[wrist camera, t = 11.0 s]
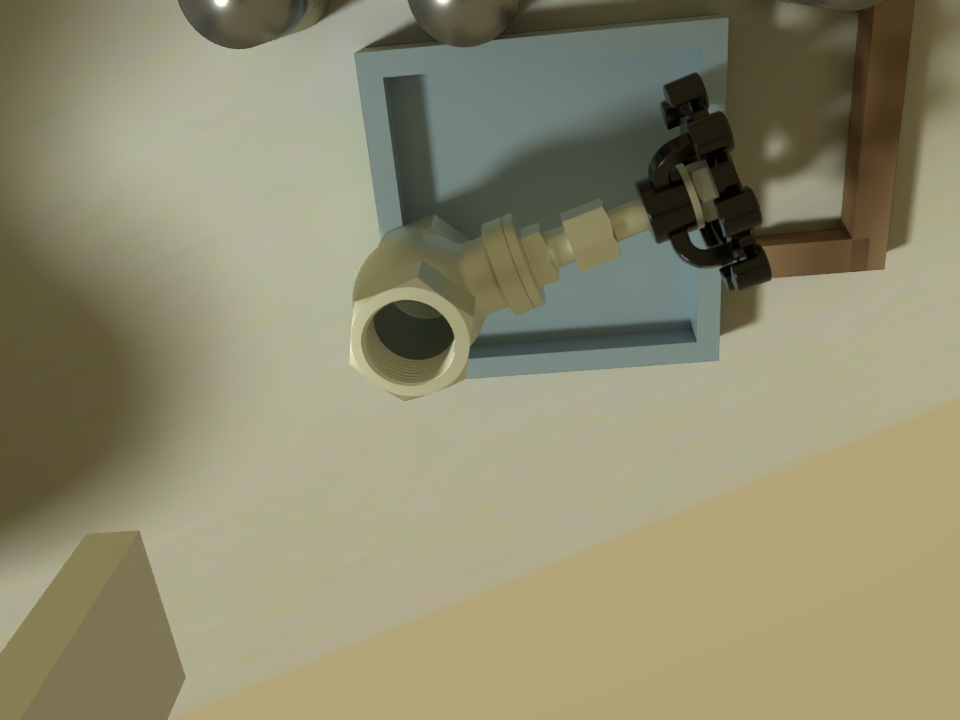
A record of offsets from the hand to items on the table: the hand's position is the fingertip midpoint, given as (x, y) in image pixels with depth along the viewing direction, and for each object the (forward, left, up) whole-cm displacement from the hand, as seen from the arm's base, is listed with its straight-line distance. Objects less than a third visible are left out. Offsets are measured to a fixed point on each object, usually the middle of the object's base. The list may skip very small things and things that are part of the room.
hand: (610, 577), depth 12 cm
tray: (0, 0, -20) cm, 20 cm away
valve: (0, 0, -19) cm, 19 cm away
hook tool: (+9, +4, -20) cm, 23 cm away
